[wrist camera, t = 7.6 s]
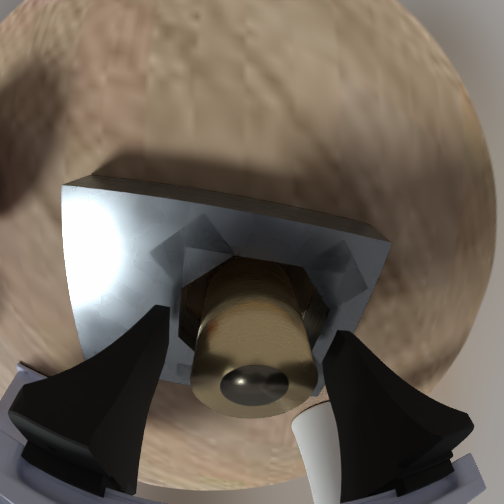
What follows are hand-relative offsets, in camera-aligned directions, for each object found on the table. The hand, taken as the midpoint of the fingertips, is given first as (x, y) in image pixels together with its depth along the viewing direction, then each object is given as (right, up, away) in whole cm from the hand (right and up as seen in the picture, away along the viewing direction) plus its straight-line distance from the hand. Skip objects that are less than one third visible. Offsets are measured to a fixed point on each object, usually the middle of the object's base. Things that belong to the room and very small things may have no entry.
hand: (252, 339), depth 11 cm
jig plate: (-2, +2, +3) cm, 4 cm away
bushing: (0, +1, +3) cm, 3 cm away
